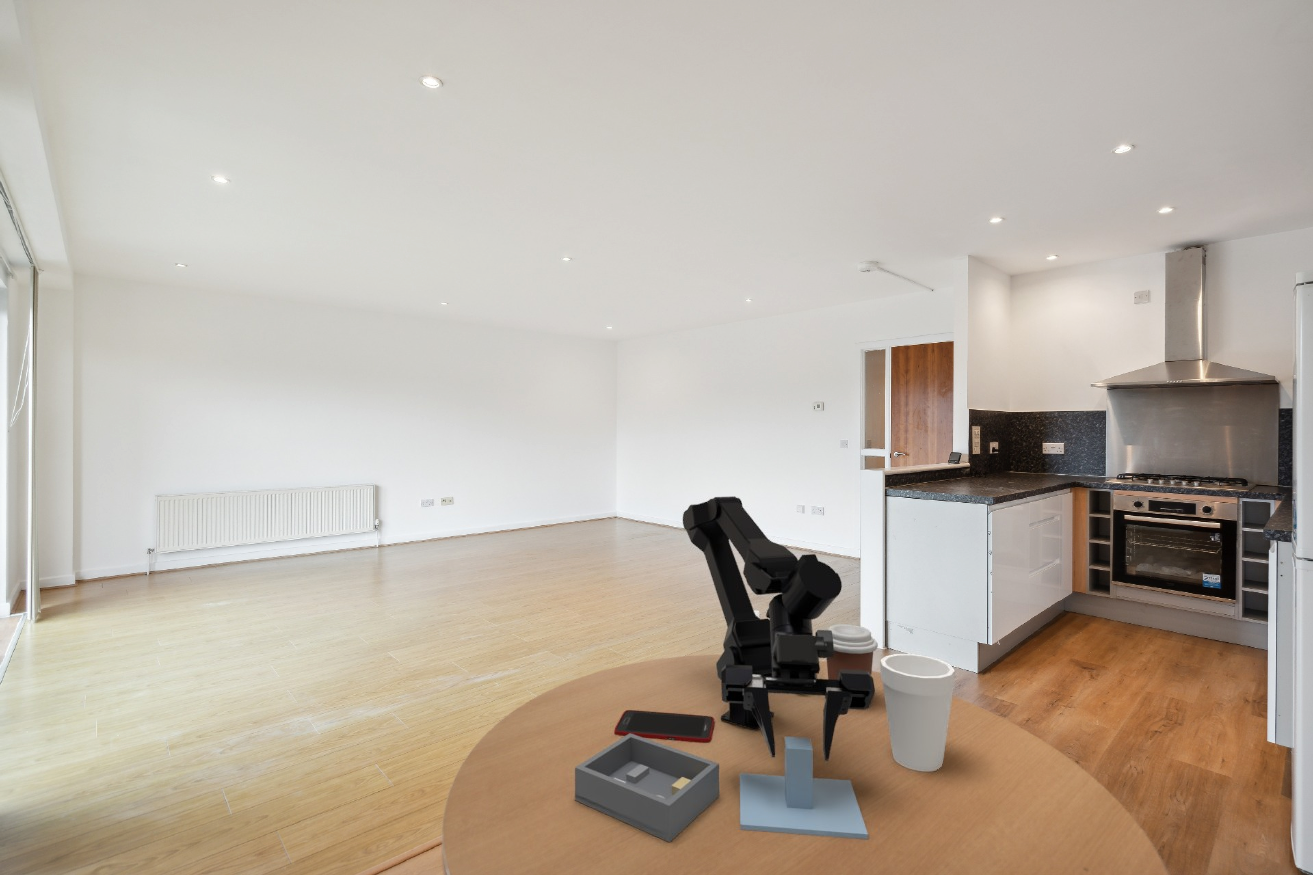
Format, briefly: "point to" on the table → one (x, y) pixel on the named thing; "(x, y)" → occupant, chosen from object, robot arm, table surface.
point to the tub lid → (800, 799)
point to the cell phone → (666, 726)
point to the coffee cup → (851, 649)
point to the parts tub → (648, 785)
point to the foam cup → (917, 708)
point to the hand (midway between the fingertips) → (800, 757)
